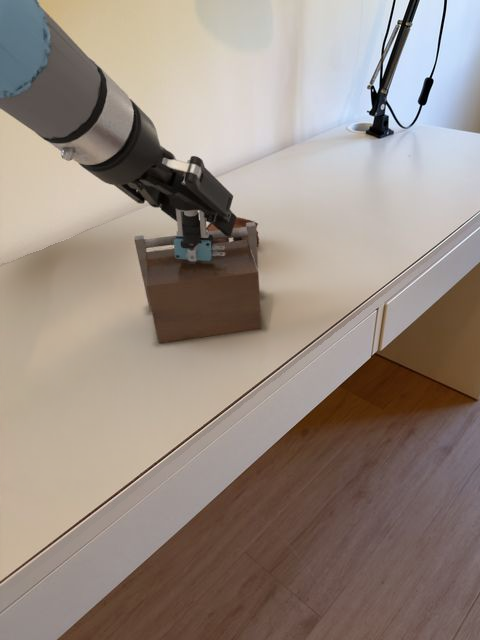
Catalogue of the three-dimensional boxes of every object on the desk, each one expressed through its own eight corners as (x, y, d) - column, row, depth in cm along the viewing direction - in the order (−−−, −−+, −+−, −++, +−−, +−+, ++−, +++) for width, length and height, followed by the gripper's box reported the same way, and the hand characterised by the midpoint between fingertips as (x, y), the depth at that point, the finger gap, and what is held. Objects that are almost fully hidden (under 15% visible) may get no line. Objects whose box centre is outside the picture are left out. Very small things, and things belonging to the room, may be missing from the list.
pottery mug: (190, 259, 89) (199, 209, 87) (237, 267, 94) (246, 220, 93) (224, 270, 79) (235, 215, 78) (274, 278, 85) (286, 227, 83)
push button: (228, 248, 70) (225, 174, 64) (221, 269, 66) (218, 193, 60) (178, 245, 71) (171, 172, 64) (169, 265, 67) (160, 190, 60)
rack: (149, 307, 77) (134, 235, 70) (258, 292, 79) (254, 221, 72) (150, 344, 70) (133, 269, 63) (269, 327, 72) (266, 252, 65)
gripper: (14, 157, 50) (144, 238, 72) (176, 181, 44) (266, 262, 66) (36, 84, 51) (160, 186, 72) (200, 96, 44) (282, 205, 66)
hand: (210, 222), depth 69 cm, fingers closed on push button, 5 cm apart
